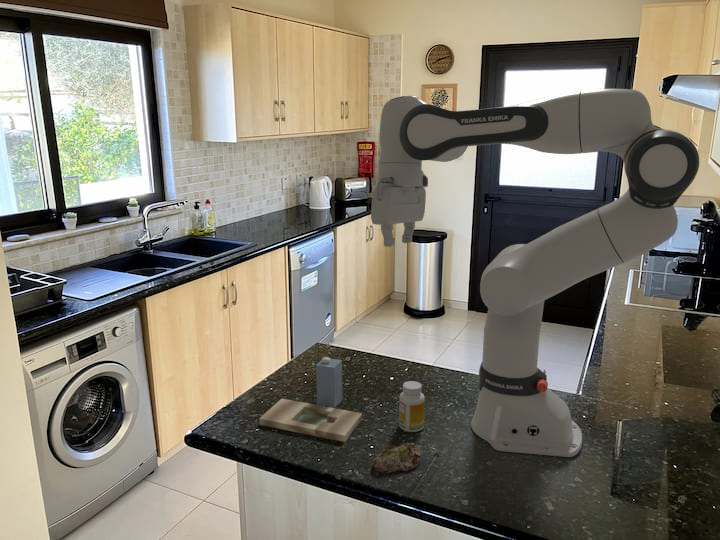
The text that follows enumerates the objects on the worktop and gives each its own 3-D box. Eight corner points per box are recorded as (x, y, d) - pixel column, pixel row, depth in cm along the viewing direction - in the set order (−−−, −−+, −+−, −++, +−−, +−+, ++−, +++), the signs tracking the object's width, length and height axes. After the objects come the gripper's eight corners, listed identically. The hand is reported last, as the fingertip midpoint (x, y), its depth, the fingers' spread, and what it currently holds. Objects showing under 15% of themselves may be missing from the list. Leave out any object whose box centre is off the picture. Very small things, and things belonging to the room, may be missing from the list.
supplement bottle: (427, 423, 126) (428, 382, 124) (419, 435, 122) (420, 392, 119) (404, 418, 129) (404, 377, 126) (395, 429, 124) (395, 387, 122)
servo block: (342, 399, 137) (341, 357, 135) (334, 408, 133) (334, 364, 131) (325, 396, 139) (324, 354, 136) (317, 404, 135) (316, 361, 132)
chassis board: (362, 419, 128) (362, 413, 128) (344, 442, 119) (344, 435, 119) (281, 404, 135) (281, 398, 135) (259, 424, 126) (259, 418, 126)
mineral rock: (403, 433, 118) (428, 441, 111) (407, 454, 118) (432, 463, 112) (359, 451, 113) (382, 460, 106) (363, 473, 113) (386, 483, 106)
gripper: (393, 176, 110) (391, 249, 112) (431, 179, 128) (429, 241, 130) (363, 176, 113) (362, 247, 115) (404, 179, 131) (403, 240, 133)
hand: (398, 244), depth 122 cm, fingers open, 8 cm apart
